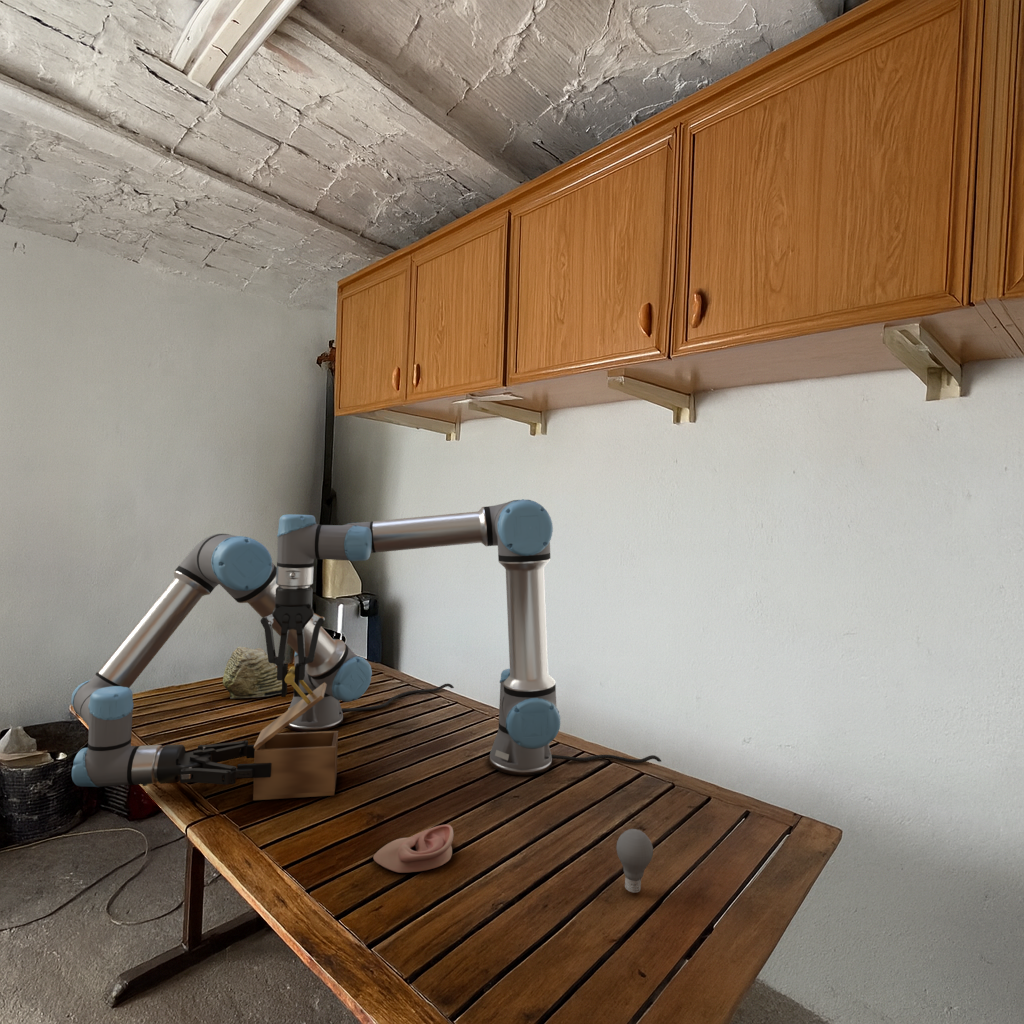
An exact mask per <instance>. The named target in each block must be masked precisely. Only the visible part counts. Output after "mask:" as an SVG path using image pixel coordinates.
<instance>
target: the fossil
mask: <svg viewBox="0 0 1024 1024" xmlns="http://www.w3.org/2000/svg"><path fill="white" fill-rule="evenodd" d="M222 676H223V677H222V685H223V687H224V688H225V690H226V691H228V693H229V698H230V699H250V698H264V697H271V696H275V695H281V694H282V680H281V681H278V680H277V665H276V664H273V663H269V661H268V654H267V652H265V650H264V649H263V648H260V647H258V648H251V647H247V646H246V647H245V646H238V647H237V648H236V649H235V650H233V651H232V653H231V656H230V657H229V659H228V660H227V663H226V666H225V668H224V671H223V675H222Z"/></svg>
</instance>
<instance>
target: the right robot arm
mask: <svg viewBox="0 0 1024 1024" xmlns="http://www.w3.org/2000/svg"><path fill="white" fill-rule="evenodd" d="M553 532H554V525H553V521H552V517H551V516H550V513H549V512H548V511H547V509H546V508H545V506H543V505H542V504H540V503H539V502H536V501H534V500H531V499H523V498H522V499H514V500H509V501H507V502H504V503H500V504H495V505H489V506H481V507H480V509H479V510H478V511H469V512H459V513H457V512H456V513H449V514H447V513H446V514H437V515H426V516H415V517H404V518H403V517H402V518H395V519H394V518H393V519H382V520H373V521H361V522H359V521H354V522H348V523H345V524H342V525H341V524H340V525H339V524H338V525H337V524H336V525H335V524H334V525H333V524H319V523H317V521H316V517H315V515H312V514H297V513H296V514H294V513H293V514H292V513H289V514H282V515H281V516H280V517H279V519H278V529H277V535H276V537H277V543H276V544H277V545H276V546H277V549H276V550H277V551H276V567H277V573H276V584H277V585H279V587H277V588H276V597H275V608H274V610H273V612H272V614H270V615H268V616H264V617H263V618H262V617H261V618H260V624H261V626H262V627H263V629H264V636H265V637H264V638H265V644H266V645H265V646H266V654H267V655H268V661H269V663H273V664H275V665H276V668H277V680H278V681H281V680H282V693H281V698H286V696H287V694H288V684H287V683H286V682H285V677H286V675H287V673H288V671H289V663H288V662H287V663H286V662H285V661H286V655H287V647H288V646H287V645H288V644H287V639H288V632H289V630H291V629H294V630H296V632H297V643H298V661H299V663H296V666H295V665H294V667H295V681H294V682H295V683H296V684H297V686H298V687H299V681H300V680H303V679H304V677H305V665H306V664H308V663H312V662H313V660H314V657H315V652H316V647H317V642H318V636H319V631H320V627H323V624H324V622H325V620H326V618H325V616H323V615H321V616H320V615H319V614H317V613H315V610H314V607H313V590H314V589H313V587H312V585H313V584H314V570H315V569H314V567H315V566H314V561H315V560H330V561H349V562H358V561H359V562H361V561H363V562H364V561H367V560H369V559H370V557H371V554H376V553H385V552H396V551H408V550H418V549H429V548H430V549H431V548H441V547H449V546H460V545H472V544H473V545H474V544H482V545H483V546H485V547H496V546H497V559H498V563H499V564H500V565H501V566H502V567H503V568H504V569H505V587H506V606H507V607H506V611H507V635H508V655H509V656H508V660H509V668H505V669H503V670H502V671H501V673H500V680H499V684H500V685H499V704H498V705H499V708H498V727H497V732H496V735H495V738H494V742H493V744H492V747H491V749H490V753H489V765H490V766H491V767H492V768H493V769H495V770H496V771H498V772H500V773H504V774H507V775H513V776H535V775H541V774H543V773H545V772H547V771H549V770H550V769H551V767H552V765H553V764H552V763H553V759H554V760H564V761H566V760H567V761H571V762H589V761H593V760H594V761H595V760H599V759H610V760H616V761H620V762H625V763H631V764H643V763H646V762H648V761H650V760H655V761H657V762H658V763H661V762H662V759H661V758H660V757H659V756H657V755H653V754H652V755H651V754H650V755H648V756H645V757H643V758H640V759H639V758H638V759H634V758H627V757H623V756H619V755H613V754H596V755H592V756H586V757H575V756H569V755H557V754H552V751H551V748H550V744H551V742H552V741H554V740H555V739H556V738H557V736H558V734H559V732H560V728H561V715H560V711H559V709H558V707H557V688H556V680H555V678H554V677H553V676H551V675H550V673H549V659H548V657H549V654H548V653H549V652H548V630H547V629H548V628H547V605H546V581H545V567H546V566H547V565H548V564H549V562H550V561H551V541H552V537H553ZM273 618H275V620H276V621H277V622H278V624H279V625H280V627H281V628H282V629H281V636H280V640H279V647H278V655H277V653H276V646H275V638H274V637H275V636H274V629H273V628H272V624H273ZM311 618H312V619H313V625H315V627H314V630H313V635H312V640H311V645H310V650H309V655H308V656H307V657H306V656H305V639H304V627H305V626H306V624H307V623H308V622H309V621H310V619H311ZM298 694H299V693H298V692H297V691H296V690H295V689H294V688H293V696H294V697H298Z"/></svg>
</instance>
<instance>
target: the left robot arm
mask: <svg viewBox="0 0 1024 1024" xmlns="http://www.w3.org/2000/svg"><path fill="white" fill-rule="evenodd" d="M272 558H273V557H272V556H271V553H270V551H269V550H268V549H267V547H266V546H265V545H264V544H263V543H262V542H260V541H258V540H257V539H254V538H251V537H248V536H244V535H232V534H229V533H216V534H212V535H209V536H206V537H205V538H203V539H202V540H201V541H200V542H199V543H197V544H196V545H195V546H194V547H193V549H191V550H190V551H189V553H188V554H186V557H185V558H184V559H183V560H182V561H181V562H180V564H179V565H178V566H177V567H176V568H175V570H174V571H173V576H174V577H173V579H172V580H171V582H170V583H169V584H168V585H167V587H166V588H165V589H164V590H163V591H162V592H161V594H160V595H159V596H158V598H157V599H156V600H155V601H154V602H153V604H152V605H151V606H149V608H148V609H147V611H146V612H144V613H145V614H143V616H142V617H141V618H140V619H139V621H138V622H136V624H135V625H134V626H133V628H132V629H131V630H130V631H129V633H128V634H127V635H126V636H125V637H124V639H122V641H121V643H119V645H118V646H117V647H116V648H115V650H114V651H113V652H112V653H111V654H110V656H109V657H108V659H106V661H105V662H104V663H103V664H102V666H100V668H99V669H98V670H97V672H96V673H94V675H93V676H92V677H91V678H90V679H88V680H86V681H84V682H82V683H80V684H78V686H76V687H75V689H74V690H73V691H72V694H71V699H70V702H71V705H72V708H73V711H74V712H75V714H76V715H78V717H80V718H81V719H82V720H83V722H84V723H85V724H86V725H87V728H88V742H87V747H83V748H81V749H80V750H79V751H78V752H77V753H76V755H75V757H74V759H73V762H72V763H73V765H72V767H71V779H72V783H74V785H75V786H77V787H81V788H82V787H84V788H85V787H87V788H88V787H89V788H103V787H114V786H115V787H117V786H119V787H120V786H136V785H142V786H143V787H146V786H148V785H154V784H157V783H159V784H160V785H162V784H163V785H165V784H166V785H167V784H178V783H179V784H188V783H189V784H190V783H197V784H198V783H199V784H210V785H225V786H227V785H228V786H229V785H234V784H236V783H237V780H240V779H254V778H265V777H271V763H254V762H253V763H238V764H237V765H236V766H235V765H231V764H224V763H223V762H225V761H230V760H231V761H232V760H235V759H240V758H244V757H246V759H254V752H255V749H254V745H255V744H249V740H247V739H244V740H240V741H232V742H231V741H229V742H223V743H214V744H199V745H197V749H196V750H193V751H186V746H184V745H183V744H166V745H164V746H163V745H162V744H152V745H151V744H149V745H147V744H146V745H132V732H133V731H132V729H133V712H134V706H135V705H134V698H133V697H134V696H133V695H134V694H133V690H132V689H131V687H132V685H133V684H134V683H135V682H136V680H137V679H138V678H139V676H140V675H141V674H142V673H143V671H144V670H145V669H146V668H147V667H148V666H149V664H150V663H151V662H152V660H153V659H154V658H155V656H156V655H157V654H158V653H159V652H160V650H161V649H162V648H163V647H164V645H165V644H166V643H167V642H168V640H169V639H170V638H171V637H172V635H173V634H174V633H175V632H176V631H177V629H178V628H179V626H180V625H181V624H182V623H183V621H184V620H185V619H186V618H187V617H188V615H189V614H190V612H191V611H192V610H193V609H194V608H195V606H196V605H197V604H198V603H199V601H200V600H201V599H202V598H203V597H205V596H209V595H211V593H212V592H213V591H214V590H215V589H216V588H217V586H219V585H220V587H221V588H222V589H224V590H225V592H227V594H228V595H230V597H231V598H232V599H234V600H235V602H236V603H238V604H248V605H249V606H250V607H251V608H252V609H253V610H254V611H255V612H256V613H257V614H258V615H259V616H260V617H261V619H262V618H263V617H264V616H268V615H270V614H272V612H273V610H274V608H275V597H276V588H277V587H279V585H277V584H276V573H277V565H275V564H274V563H273V559H272ZM314 627H315V625H313V619H312V618H311V619H310V621H309V622H308V623H307V624H306V626H305V627H304V639H305V656H306V657H307V656H308V655H309V650H310V645H311V640H312V635H313V630H314ZM272 628H273V631H274V632H276V634H277V635H279V636H280V637H281V629H282V628H281V627H280V625H279V624H278V622H277V621H276V620H275V618H273V624H272ZM287 645H288V646H289V647H290V648H291V649H292V650H293V651H294V655H293V657H294V667H295V666H296V663H299V661H298V643H297V632H296V630H294V629H291V630H289V632H288V639H287ZM372 676H373V670H372V666H371V664H370V663H369V661H368V660H366V658H365V657H362V656H359V655H357V654H356V653H355V652H354V651H353V650H352V649H351V648H350V647H349V646H348V645H347V644H346V643H345V641H343V640H342V639H338V638H332V637H331V635H330V634H329V633H328V632H327V631H326V630H325V628H324V627H323V626H321V627H320V631H319V636H318V642H317V647H316V652H315V657H314V660H313V662H312V663H308V664H306V665H305V677H304V679H303V681H304V682H305V683H306V684H307V686H308V687H309V688H310V689H311V690H312V691H314V690H315V689H316V688H318V687H319V686H320V685H321V684H323V683H324V682H325V683H326V684H327V686H326V690H325V693H324V697H323V699H321V700H320V701H319V702H318V703H316V704H315V705H314V706H312V707H311V708H310V709H309V710H307V711H306V712H305V713H303V714H302V715H301V716H299V717H298V718H297V719H296V720H294V721H293V722H292V723H290V724H289V725H288V726H286V728H287V729H289V730H291V731H294V732H322V731H330V730H332V729H335V728H337V727H339V726H340V725H342V723H343V722H344V714H343V713H346V712H349V713H350V712H353V713H354V712H365V711H373V710H379V709H382V708H385V707H387V706H388V705H390V704H391V703H392V702H393V701H395V700H397V699H400V698H401V697H402V698H403V697H404V696H408V695H412V694H422V693H432V692H433V693H435V692H438V691H440V690H442V689H445V688H447V687H448V688H450V689H454V688H455V687H454V685H453V684H451V683H444V684H441V685H440V686H438V687H434V688H427V689H426V688H424V689H414V690H408V691H404V692H401V693H398V694H396V695H394V696H392V697H390V698H389V699H388V700H387V701H386V702H384V703H382V704H377V705H373V706H366V707H365V706H363V707H346V708H345V707H343V708H342V706H341V702H345V703H350V702H353V701H354V702H355V701H357V700H358V699H359V698H361V697H362V696H363V695H364V694H365V693H366V692H367V690H368V688H369V686H370V684H371V682H372ZM294 681H295V678H294ZM299 688H300V689H301V690H302V692H303V693H304V694H305V695H306V696H307V695H308V694H309V693H308V692H307V691H306V690H305V688H304V687H303V686H302V685H301V683H300V682H299ZM292 696H293V697H292V699H291V702H290V704H289V707H288V709H287V711H288V710H289V709H290V708H291V707H293V706H294V705H295V704H297V703H298V702H299V701H301V700H302V699H303V698H302V697H301V696H300V695H299V694H298V697H294V695H292ZM340 701H341V702H340ZM221 762H222V763H221Z"/></svg>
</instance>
